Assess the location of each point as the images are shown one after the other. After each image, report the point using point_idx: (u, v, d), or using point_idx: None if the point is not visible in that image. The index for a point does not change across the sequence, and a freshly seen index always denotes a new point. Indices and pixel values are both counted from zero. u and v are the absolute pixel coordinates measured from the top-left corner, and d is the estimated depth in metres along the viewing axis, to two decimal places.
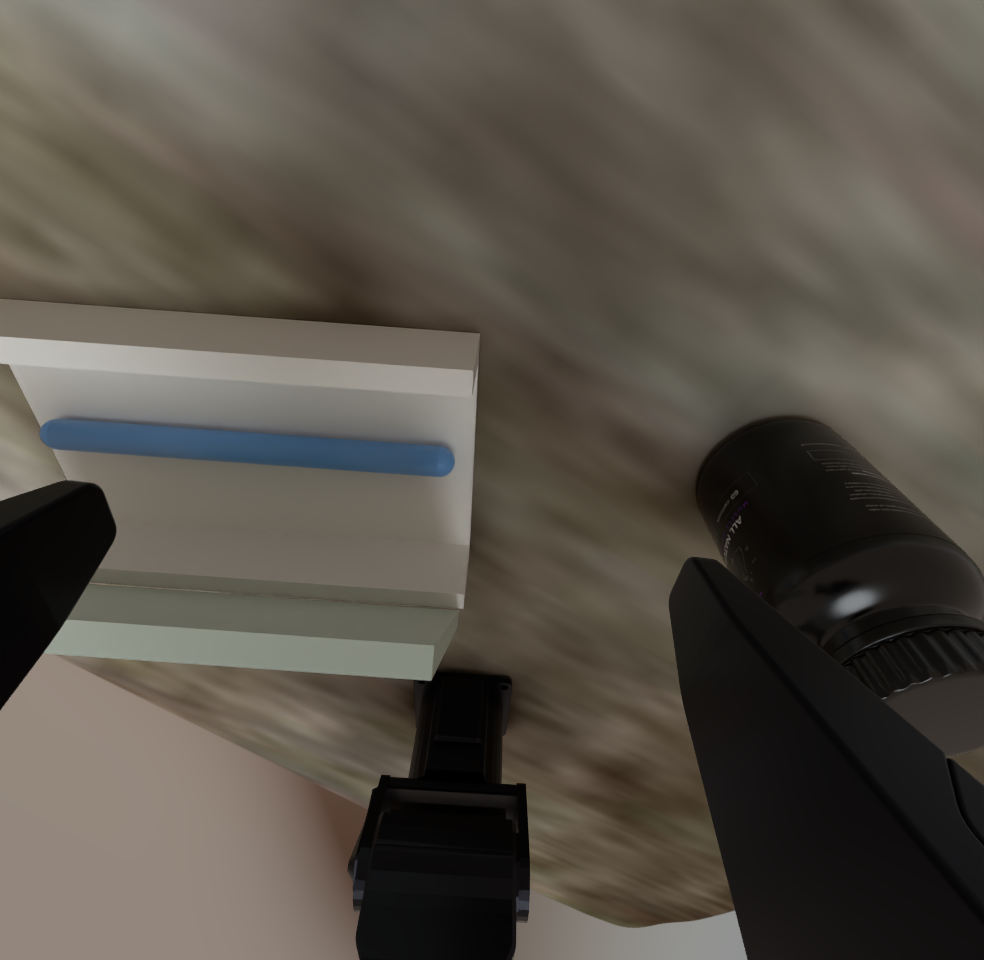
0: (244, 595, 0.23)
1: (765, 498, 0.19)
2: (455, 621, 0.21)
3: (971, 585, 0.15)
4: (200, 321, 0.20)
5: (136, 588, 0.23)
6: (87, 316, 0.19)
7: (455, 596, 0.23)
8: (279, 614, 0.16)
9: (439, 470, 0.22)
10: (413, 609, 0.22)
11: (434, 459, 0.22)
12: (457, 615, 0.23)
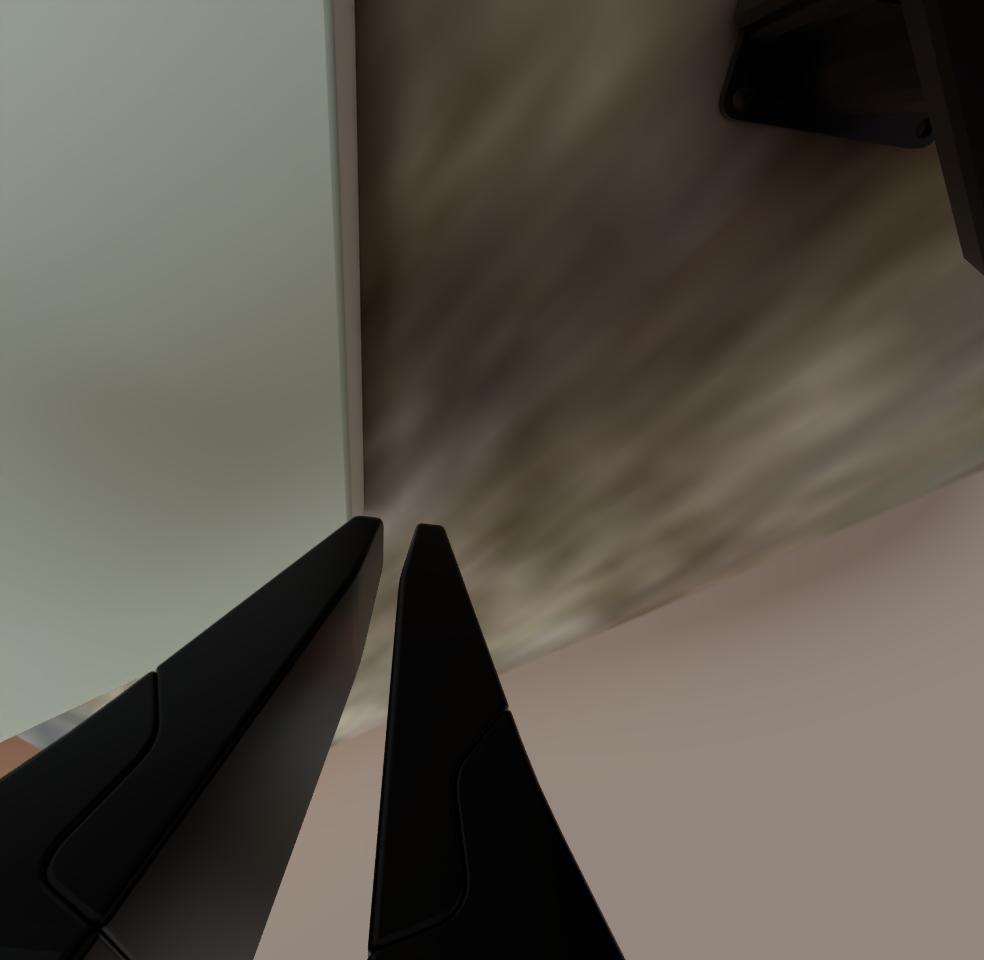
0: None
1: None
2: None
3: None
4: None
5: None
6: None
7: None
8: None
9: None
10: None
11: None
12: None
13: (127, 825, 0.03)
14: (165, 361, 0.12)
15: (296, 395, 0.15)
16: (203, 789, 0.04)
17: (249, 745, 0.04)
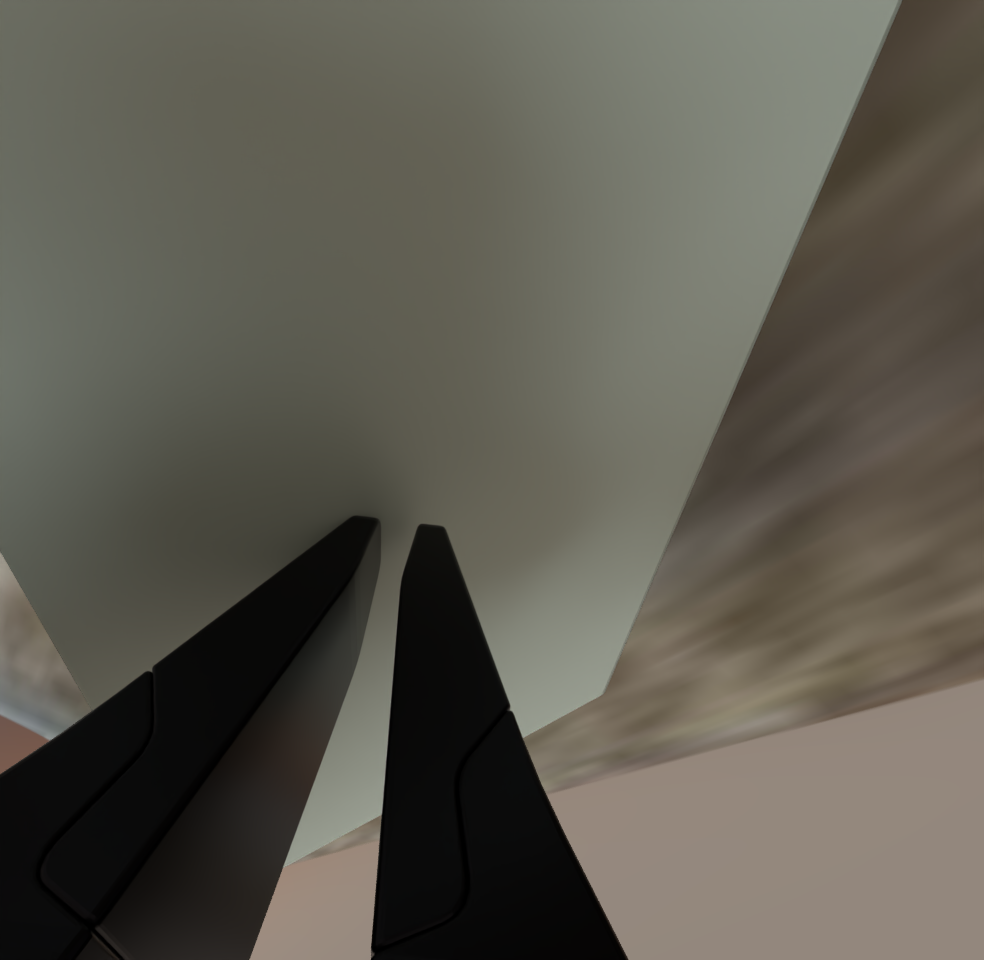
0: None
1: None
2: None
3: None
4: None
5: None
6: None
7: None
8: None
9: None
10: None
11: None
12: None
13: (122, 824, 0.03)
14: (554, 488, 0.09)
15: (644, 514, 0.12)
16: (198, 788, 0.04)
17: (245, 744, 0.04)
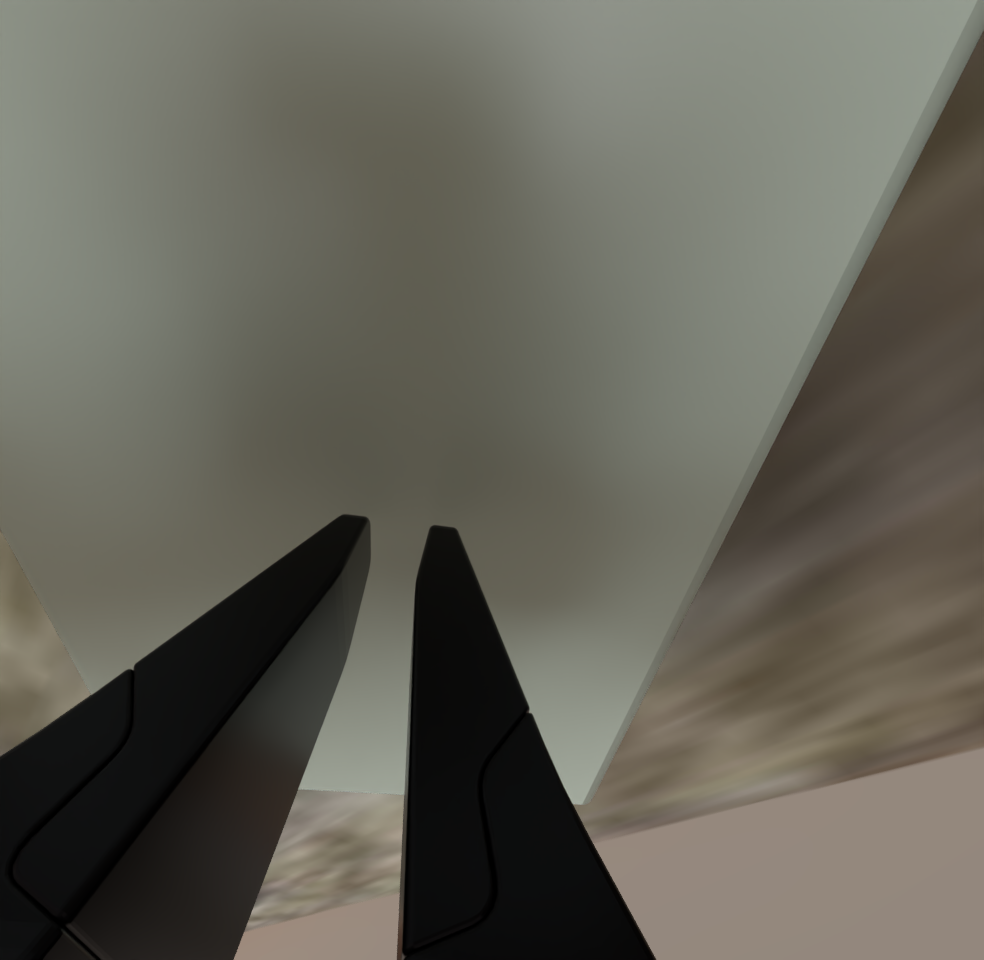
0: None
1: None
2: None
3: None
4: None
5: None
6: None
7: None
8: None
9: None
10: None
11: None
12: None
13: (95, 822, 0.03)
14: (455, 517, 0.08)
15: (609, 596, 0.09)
16: (175, 786, 0.04)
17: (225, 743, 0.04)
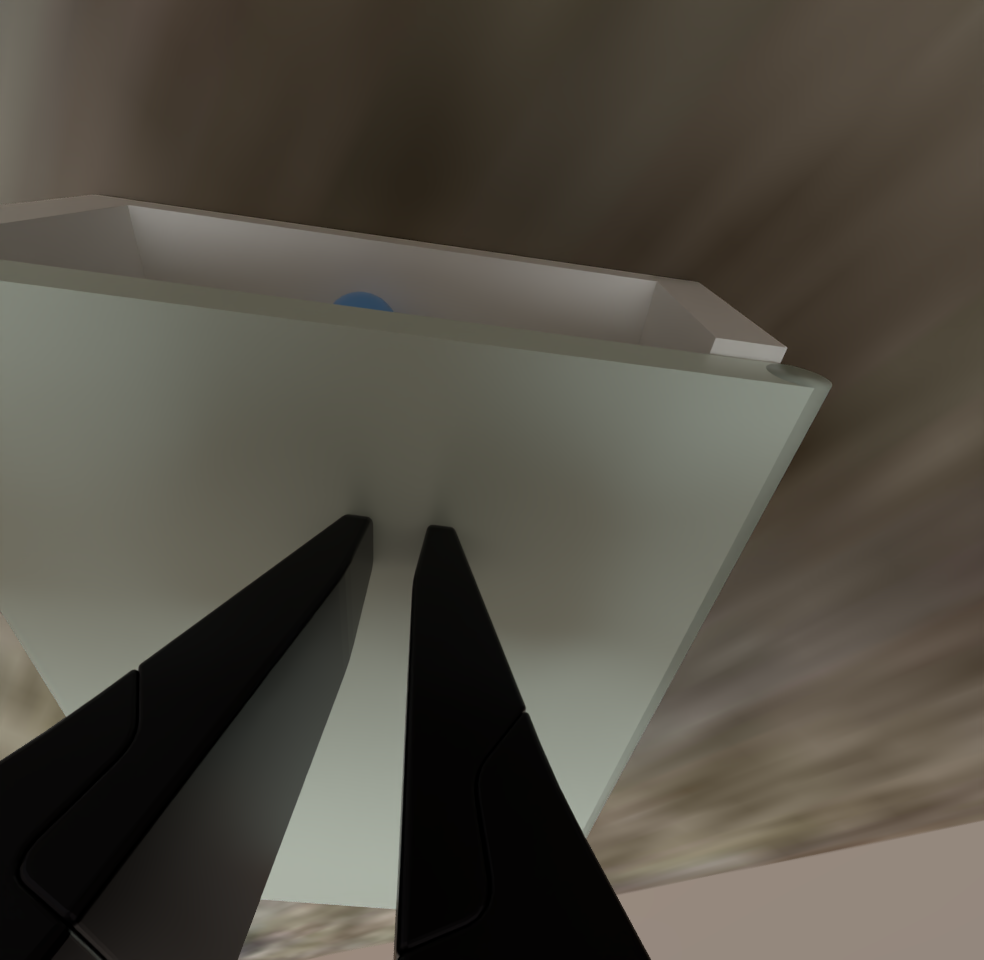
0: None
1: None
2: (607, 347, 0.06)
3: None
4: None
5: None
6: None
7: None
8: None
9: None
10: None
11: None
12: (708, 357, 0.07)
13: (102, 823, 0.03)
14: None
15: None
16: (181, 787, 0.04)
17: (230, 743, 0.04)
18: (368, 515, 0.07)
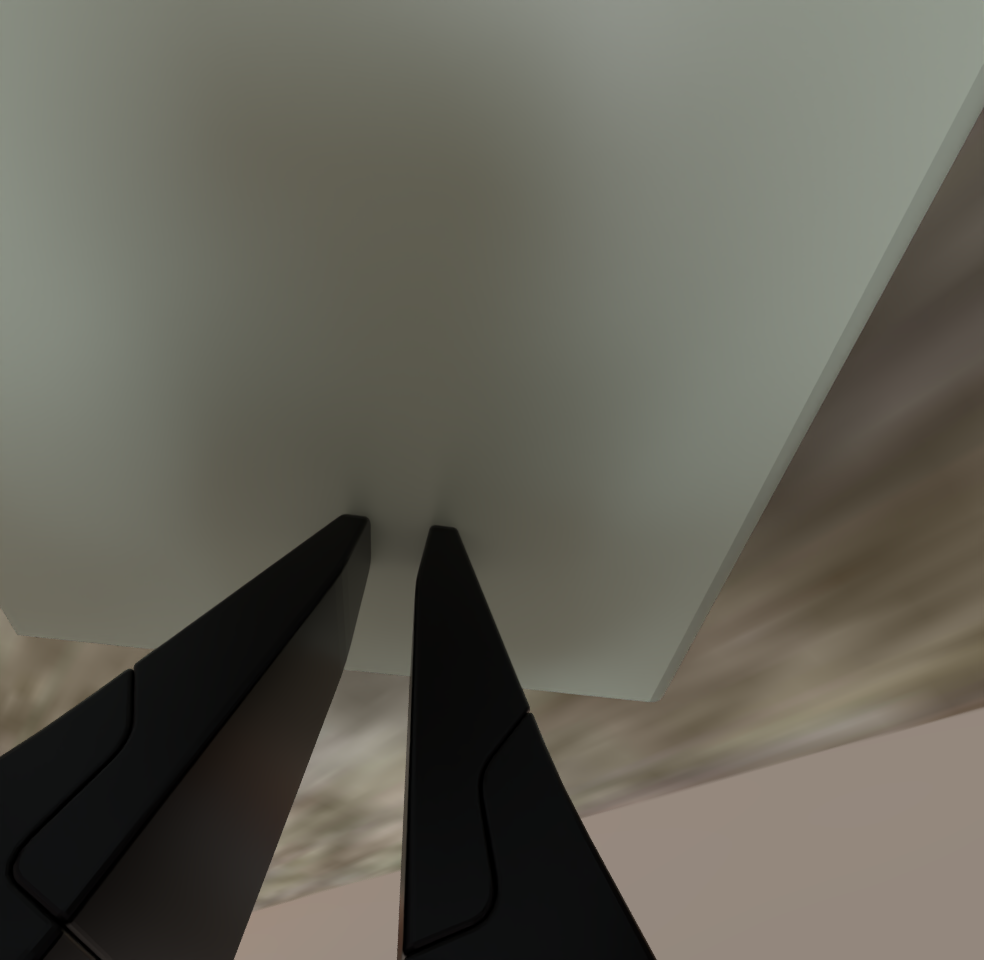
0: None
1: None
2: None
3: None
4: None
5: None
6: None
7: None
8: None
9: None
10: None
11: None
12: None
13: (97, 822, 0.03)
14: None
15: (760, 220, 0.05)
16: (176, 786, 0.04)
17: (226, 743, 0.04)
18: None
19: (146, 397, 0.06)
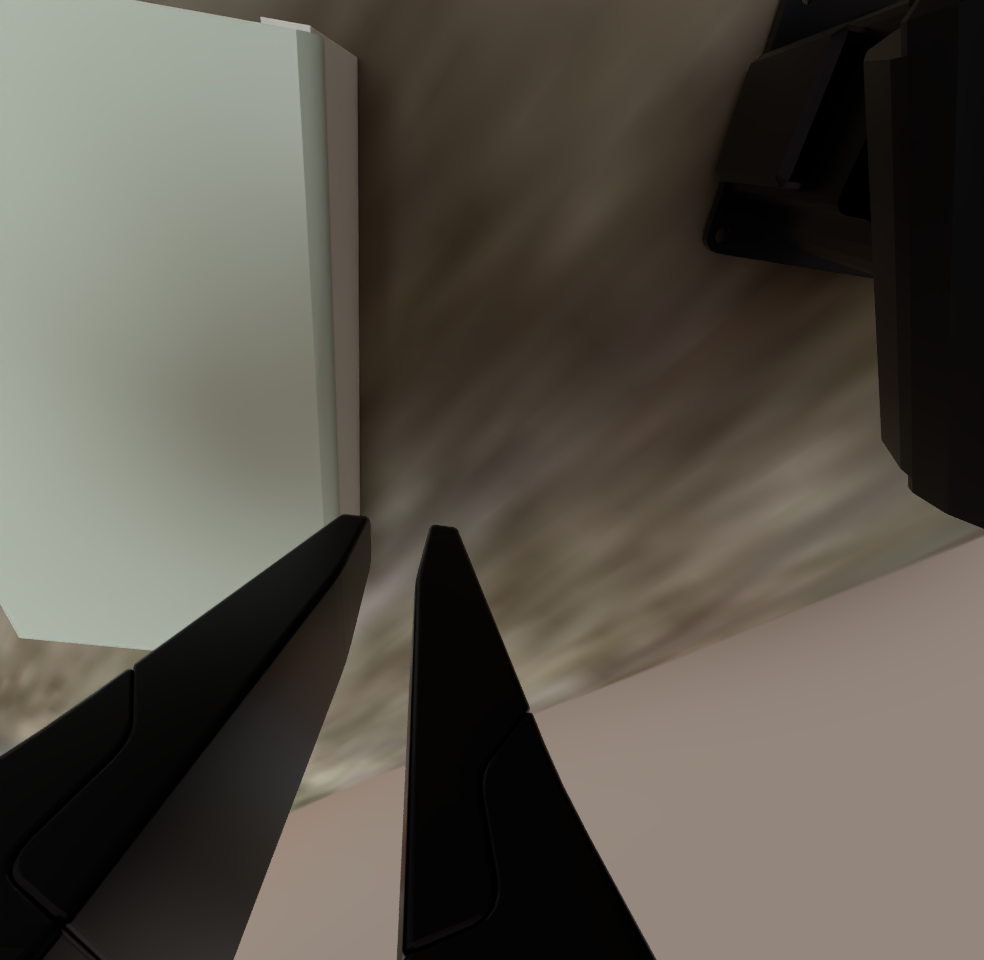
0: None
1: None
2: None
3: None
4: None
5: None
6: None
7: None
8: None
9: None
10: None
11: None
12: None
13: (95, 823, 0.03)
14: (166, 441, 0.15)
15: (277, 496, 0.16)
16: (175, 787, 0.04)
17: (225, 743, 0.04)
18: (44, 153, 0.11)
19: (75, 544, 0.17)
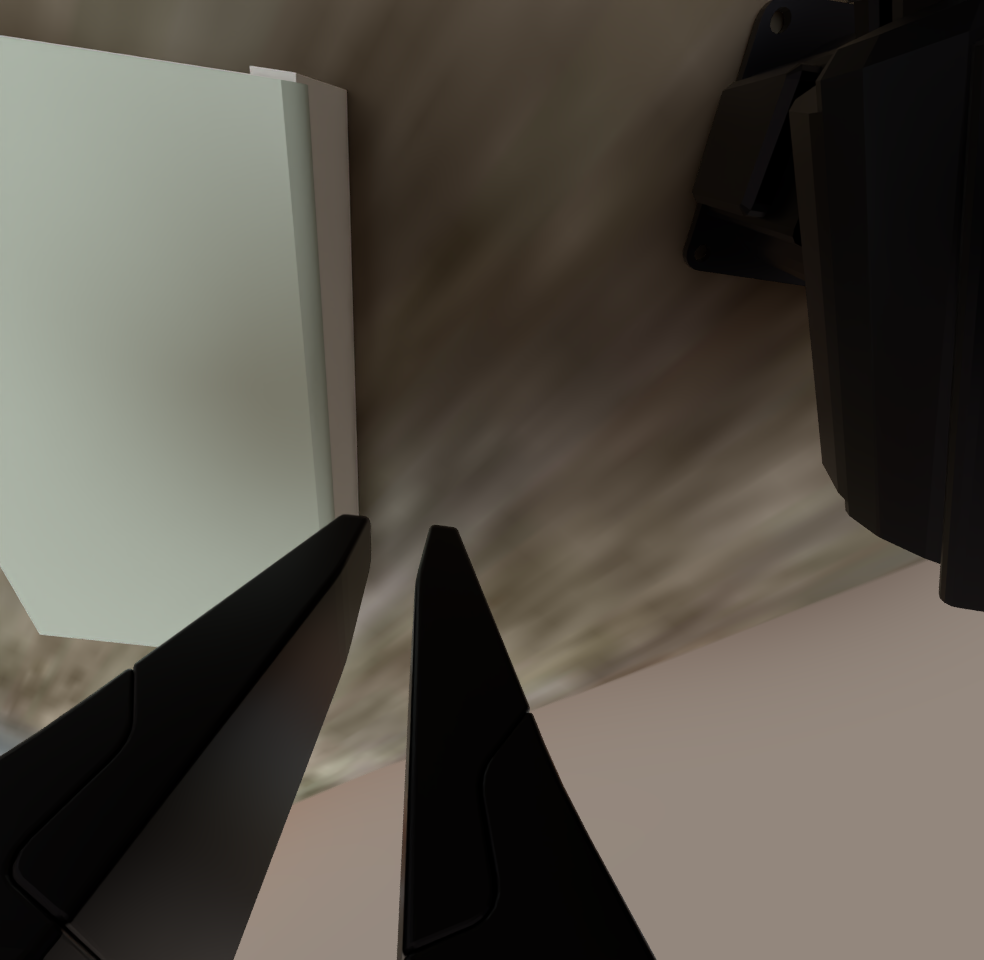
0: None
1: None
2: None
3: None
4: None
5: None
6: None
7: None
8: None
9: None
10: None
11: None
12: None
13: (96, 822, 0.03)
14: (170, 454, 0.16)
15: (275, 505, 0.16)
16: (176, 786, 0.04)
17: (225, 742, 0.04)
18: (54, 194, 0.12)
19: (89, 548, 0.18)
